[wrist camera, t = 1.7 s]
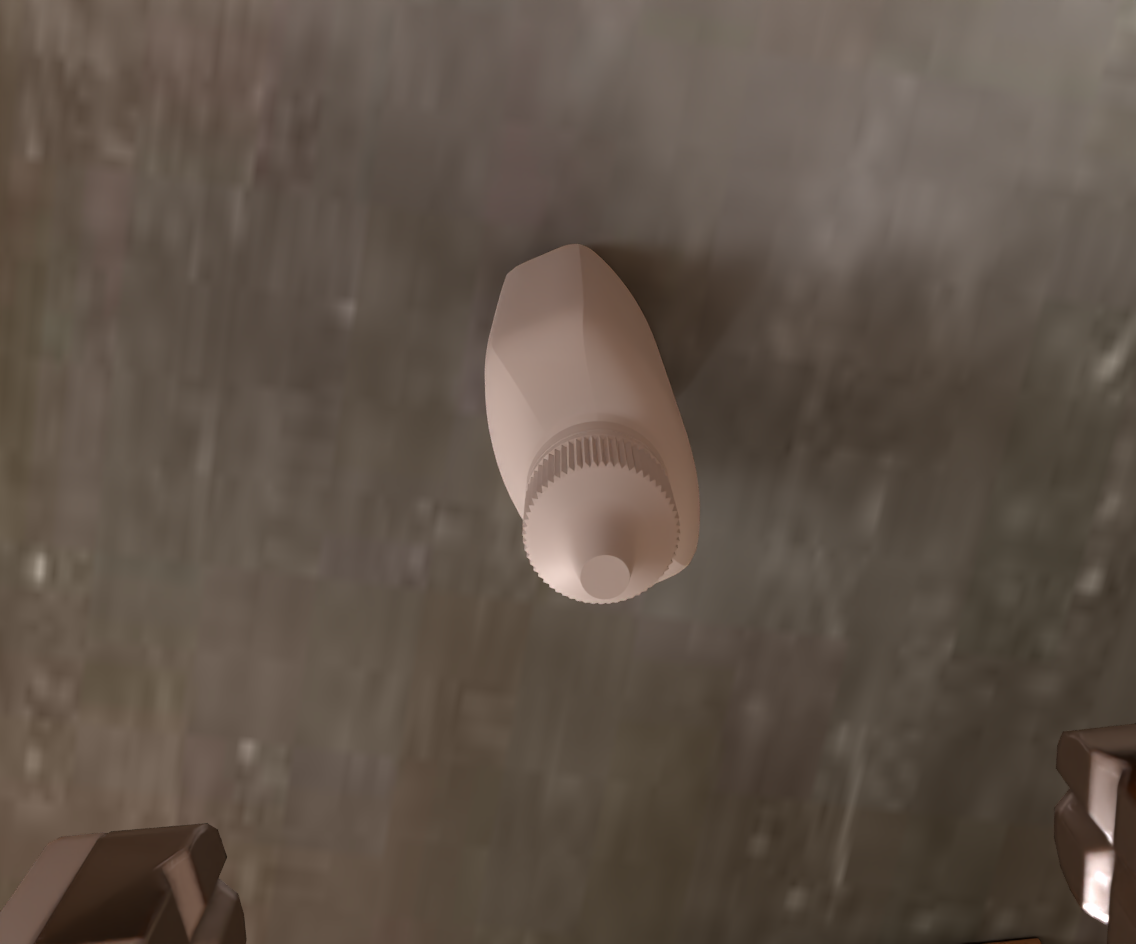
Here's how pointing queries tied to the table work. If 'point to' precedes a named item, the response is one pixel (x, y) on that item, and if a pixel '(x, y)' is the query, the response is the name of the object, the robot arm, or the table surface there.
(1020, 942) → the dock
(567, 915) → the table surface
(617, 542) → the eye dropper bottle
